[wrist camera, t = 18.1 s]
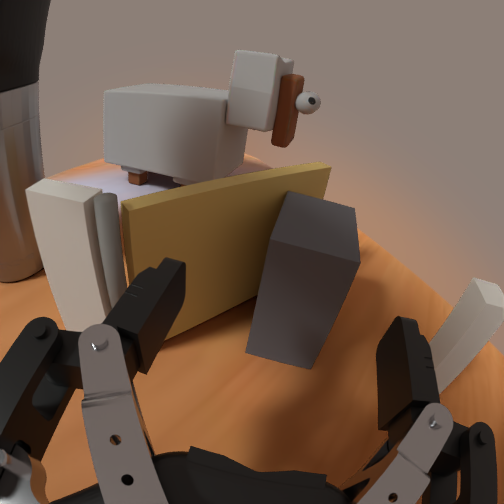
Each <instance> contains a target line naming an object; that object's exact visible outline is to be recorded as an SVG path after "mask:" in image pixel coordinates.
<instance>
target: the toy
mask: <svg viewBox="0 0 504 504" xmlns="http://www.w3.org/2000/svg"><path fill="white" fill-rule="evenodd" d="M293 65H294V61H293V60H291V59H286V58H281V57H280V56H279V55H276V54H269V53H262V52H254V51H245V50H237V51H236V52H235V56H234V61H233V67H232V72H231V78H230V84H229V91H227V90H219V89H212V88H203V87H193V86H180V85H167V84H141V85H135V86H128V87H122V88H117V89H111V90H106V91H104V119H103V121H104V123H103V124H104V125H103V126H104V161H105V162H107V163H111V164H116V165H121V169H122V170H123V171H127V172H128V176H129V183H132V184H136V185H141V184H143V183H144V182H146V181H147V171H149V172H153V173H158V174H162V175H167V176H171V177H173V181H174V182H175V183H179V184H180V187H182V186H187V185H191V184H196V183H200V182H205V181H210V180H215V179H220V178H225V177H226V176H227V175H228V174H230V173H231V172H232V171H233V170H235V169H236V168H237V167H238V166H240V165H241V164H242V163H243V159H244V152H245V145H246V139H247V132H248V129H253V130H258V131H262V132H267V131H271V130H273V133H272V139H271V143H272V145H274V146H278V147H284V148H285V147H287V146H288V145H289V143H290V142H291V141H292V140H293V138H294V134H295V129H296V123H297V118H298V113H299V112H301V113H303V114H312V113H314V112H315V111H316V110H318V109H319V107H320V104H321V101H320V98H319V96H318V95H317V94H316V93H314V92H310V91H309V92H303V93H302V91H303V85H304V77H303V76H300V75H295V74H292V71H293Z"/></svg>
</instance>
